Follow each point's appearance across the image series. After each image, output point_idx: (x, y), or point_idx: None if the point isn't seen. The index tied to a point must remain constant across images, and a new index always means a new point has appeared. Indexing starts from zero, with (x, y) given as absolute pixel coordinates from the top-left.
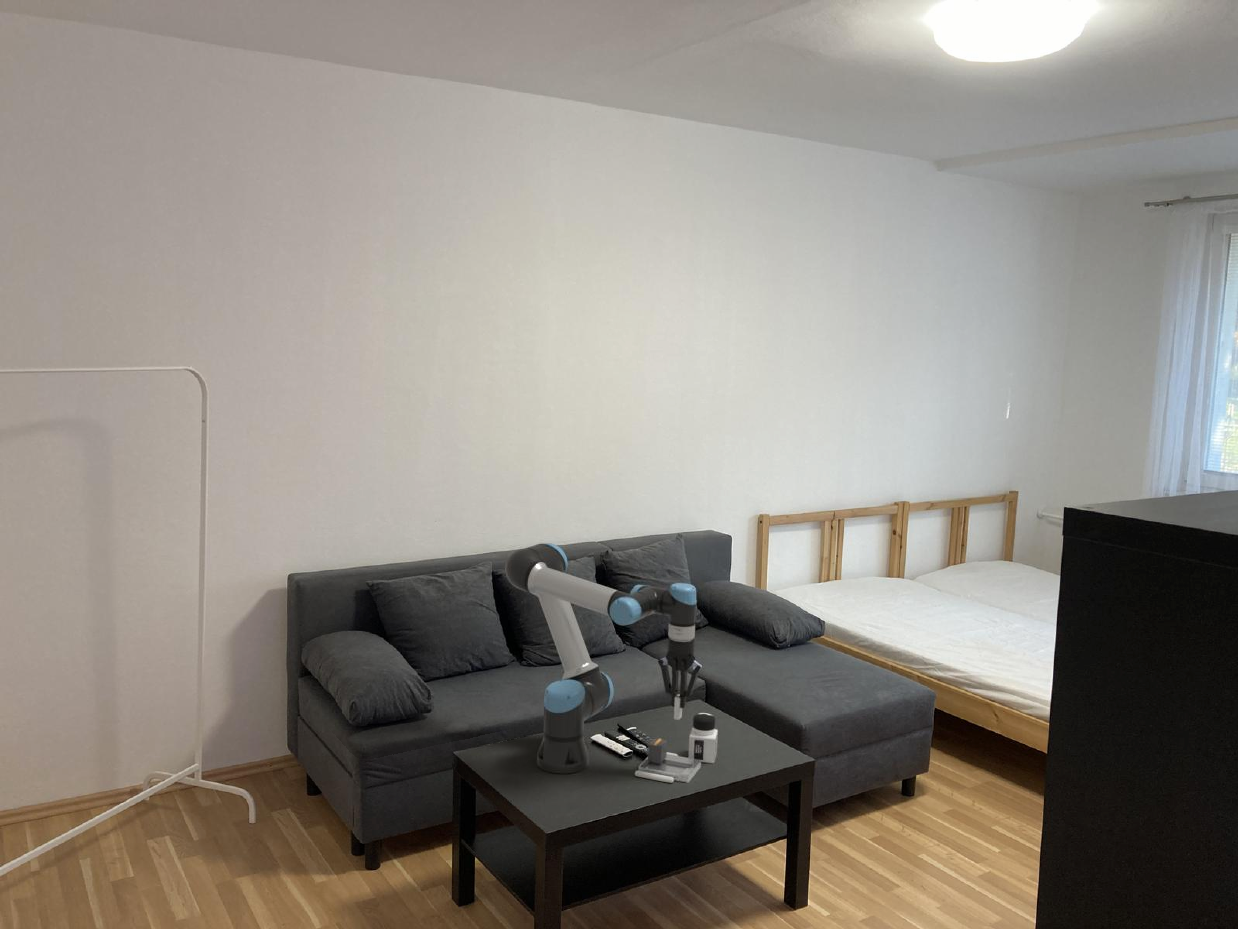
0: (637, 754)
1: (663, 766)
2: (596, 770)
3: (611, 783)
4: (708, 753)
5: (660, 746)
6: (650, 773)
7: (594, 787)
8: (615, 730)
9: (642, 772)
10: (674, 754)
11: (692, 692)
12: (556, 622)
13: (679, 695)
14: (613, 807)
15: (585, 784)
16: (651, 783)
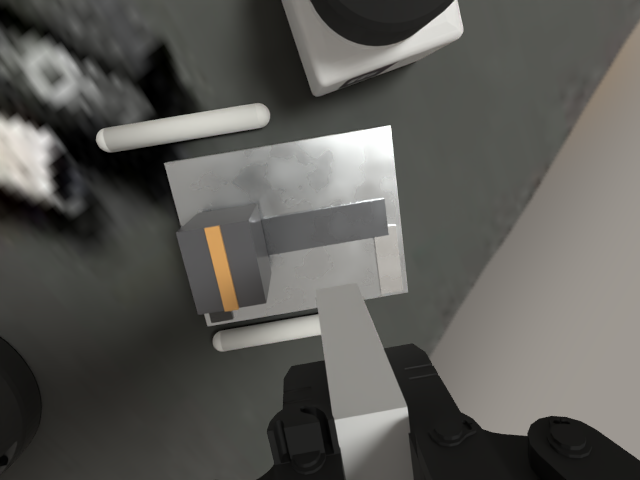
0: (99, 163)
1: (286, 273)
2: (78, 374)
3: (186, 422)
4: (407, 62)
5: (261, 303)
6: (272, 339)
7: (161, 469)
8: None
9: (242, 345)
10: (254, 120)
11: (606, 443)
12: None
13: (374, 441)
14: None
15: (124, 469)
16: (294, 353)
